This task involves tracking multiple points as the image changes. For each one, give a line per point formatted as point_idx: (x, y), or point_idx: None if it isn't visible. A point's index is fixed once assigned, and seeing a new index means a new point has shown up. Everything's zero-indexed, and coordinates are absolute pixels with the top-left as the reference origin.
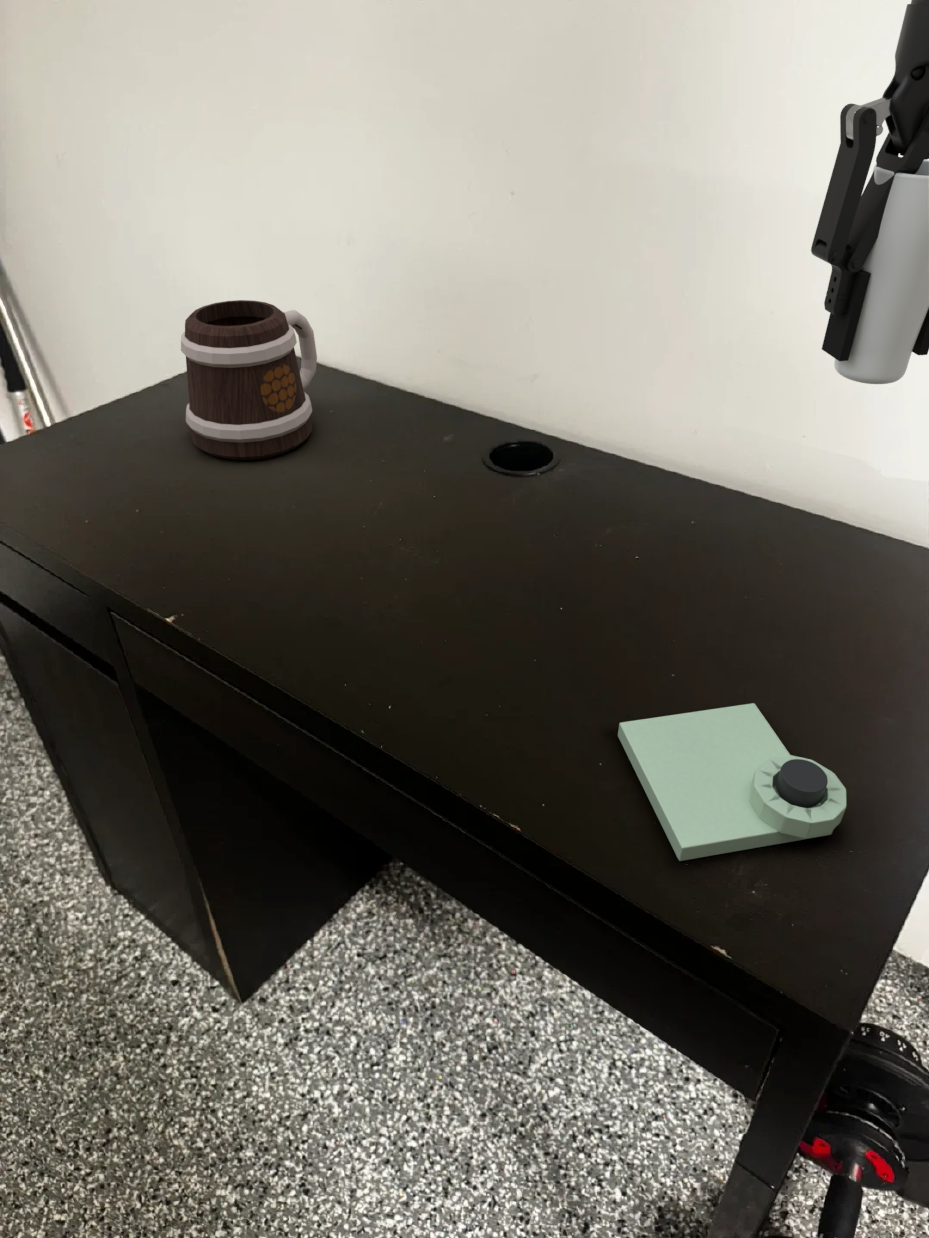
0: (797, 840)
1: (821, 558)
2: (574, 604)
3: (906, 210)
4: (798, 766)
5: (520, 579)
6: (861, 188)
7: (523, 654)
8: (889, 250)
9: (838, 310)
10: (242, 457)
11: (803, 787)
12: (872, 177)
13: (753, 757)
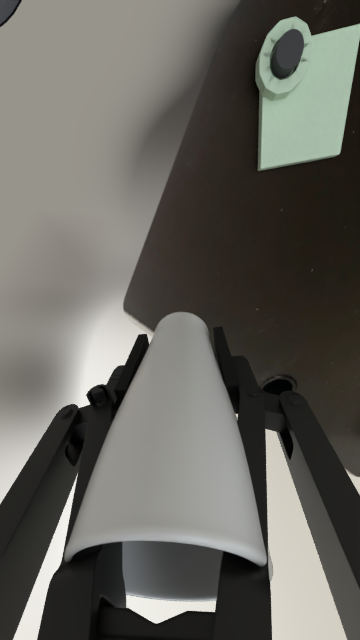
0: None
1: (169, 302)
2: (304, 272)
3: (226, 455)
4: (289, 60)
5: (321, 295)
6: (335, 521)
7: (348, 232)
8: (221, 399)
9: (240, 358)
10: None
11: (296, 34)
12: None
13: (282, 115)
